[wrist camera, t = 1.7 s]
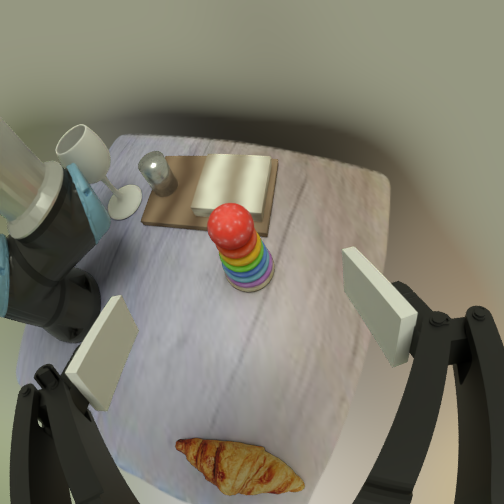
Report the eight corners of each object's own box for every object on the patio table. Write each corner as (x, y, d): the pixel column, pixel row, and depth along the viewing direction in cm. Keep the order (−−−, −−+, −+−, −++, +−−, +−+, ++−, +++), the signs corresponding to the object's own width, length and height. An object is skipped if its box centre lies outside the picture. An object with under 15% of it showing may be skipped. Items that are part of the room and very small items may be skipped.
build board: (143, 224, 50) (133, 213, 46) (168, 160, 56) (161, 147, 52) (267, 237, 46) (265, 225, 42) (278, 164, 52) (277, 149, 48)
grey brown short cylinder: (151, 196, 51) (134, 173, 43) (159, 176, 52) (144, 151, 45) (173, 197, 50) (158, 172, 42) (181, 176, 52) (167, 150, 44)
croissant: (308, 461, 35) (323, 458, 29) (289, 510, 28) (302, 516, 22) (191, 423, 39) (184, 413, 33) (167, 469, 32) (156, 468, 26)
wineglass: (124, 226, 51) (62, 165, 31) (101, 211, 53) (44, 154, 33) (149, 192, 53) (100, 122, 33) (125, 180, 55) (77, 116, 36)
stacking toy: (232, 242, 47) (205, 176, 29) (278, 251, 45) (276, 186, 28) (220, 286, 44) (181, 240, 27) (268, 297, 43) (259, 255, 25)
